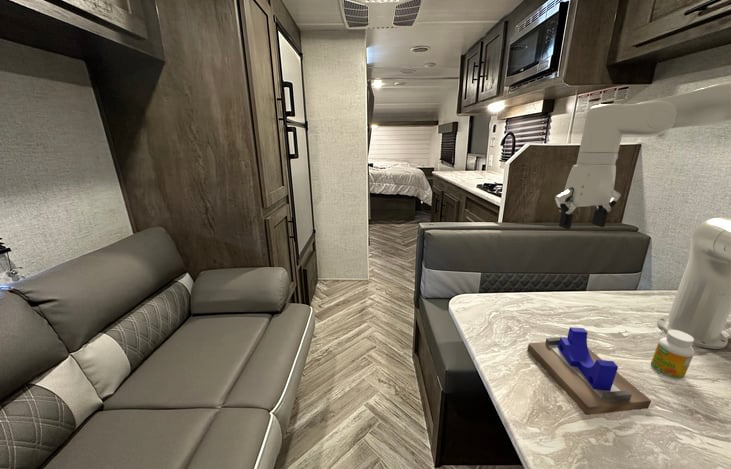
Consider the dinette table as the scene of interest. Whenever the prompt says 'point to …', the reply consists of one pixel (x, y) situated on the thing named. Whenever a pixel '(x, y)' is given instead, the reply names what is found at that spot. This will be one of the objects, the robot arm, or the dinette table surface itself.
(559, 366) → the rail board
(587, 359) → the blue curved piece
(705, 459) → the dinette table surface
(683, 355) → the supplement bottle
